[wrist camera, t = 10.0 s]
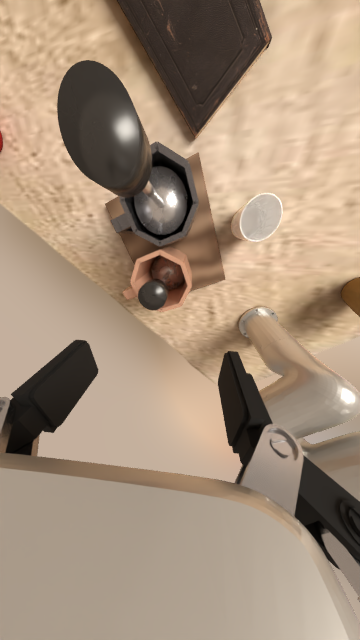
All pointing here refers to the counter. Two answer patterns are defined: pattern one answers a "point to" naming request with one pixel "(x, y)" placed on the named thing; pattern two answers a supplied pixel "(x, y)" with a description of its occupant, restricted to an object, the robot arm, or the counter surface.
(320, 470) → the robot arm
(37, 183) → the counter surface
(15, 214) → the counter surface
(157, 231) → the charcoal plunger
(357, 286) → the plant pot
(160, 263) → the black knob metal plunger
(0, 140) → the canned food
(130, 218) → the dark grey faceted mug
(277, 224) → the white cup
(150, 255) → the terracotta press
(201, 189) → the walnut board
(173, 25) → the hardcover book
